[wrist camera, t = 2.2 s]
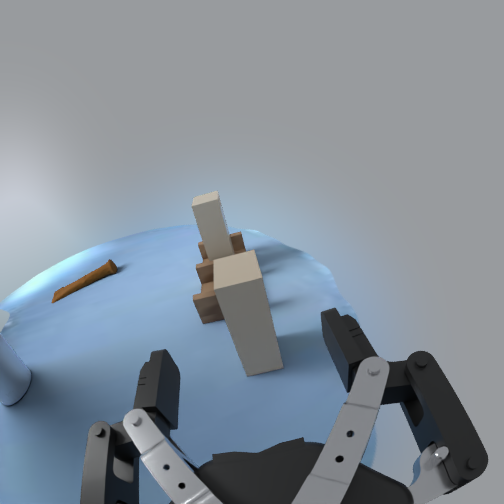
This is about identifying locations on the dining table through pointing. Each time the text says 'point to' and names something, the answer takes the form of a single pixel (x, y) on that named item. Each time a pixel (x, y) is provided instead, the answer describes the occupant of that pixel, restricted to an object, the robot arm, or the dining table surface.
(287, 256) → the dining table surface
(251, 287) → the beige rectangular block
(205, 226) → the tall square post
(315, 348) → the dining table surface
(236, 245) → the rack
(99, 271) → the primitive tool
